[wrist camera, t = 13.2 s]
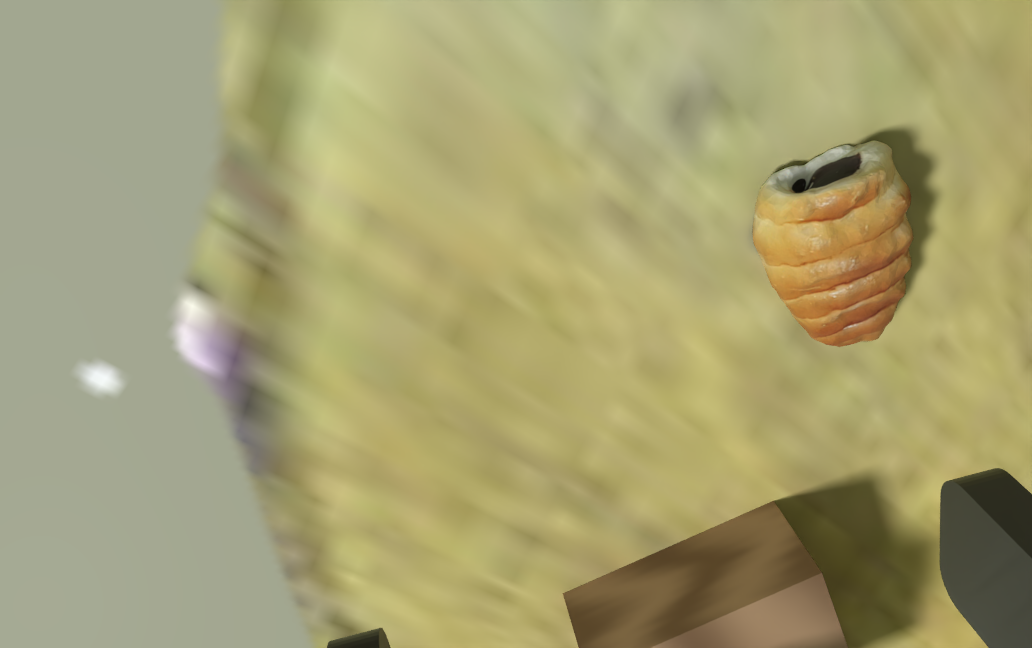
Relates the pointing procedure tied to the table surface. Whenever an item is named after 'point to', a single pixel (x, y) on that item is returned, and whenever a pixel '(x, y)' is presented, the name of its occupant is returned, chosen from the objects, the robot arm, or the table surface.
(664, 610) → the walnut box
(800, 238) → the pastry
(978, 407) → the table surface
